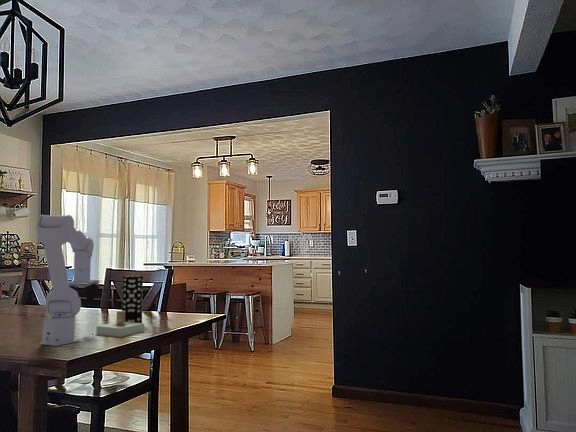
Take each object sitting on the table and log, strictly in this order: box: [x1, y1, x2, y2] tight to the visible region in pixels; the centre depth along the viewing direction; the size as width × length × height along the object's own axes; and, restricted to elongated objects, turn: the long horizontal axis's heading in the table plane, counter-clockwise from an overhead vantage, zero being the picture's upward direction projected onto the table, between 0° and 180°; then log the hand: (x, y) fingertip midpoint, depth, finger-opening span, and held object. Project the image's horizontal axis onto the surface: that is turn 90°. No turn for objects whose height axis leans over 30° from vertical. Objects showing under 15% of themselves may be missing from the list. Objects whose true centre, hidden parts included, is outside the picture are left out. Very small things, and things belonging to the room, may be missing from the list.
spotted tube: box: [121, 275, 144, 323], centre depth 198 cm, size 8×8×20 cm
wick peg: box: [116, 310, 125, 326], centre depth 176 cm, size 3×3×8 cm
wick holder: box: [95, 321, 145, 338], centre depth 176 cm, size 12×12×3 cm
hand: (81, 305), depth 175 cm, fingers open, 7 cm apart
